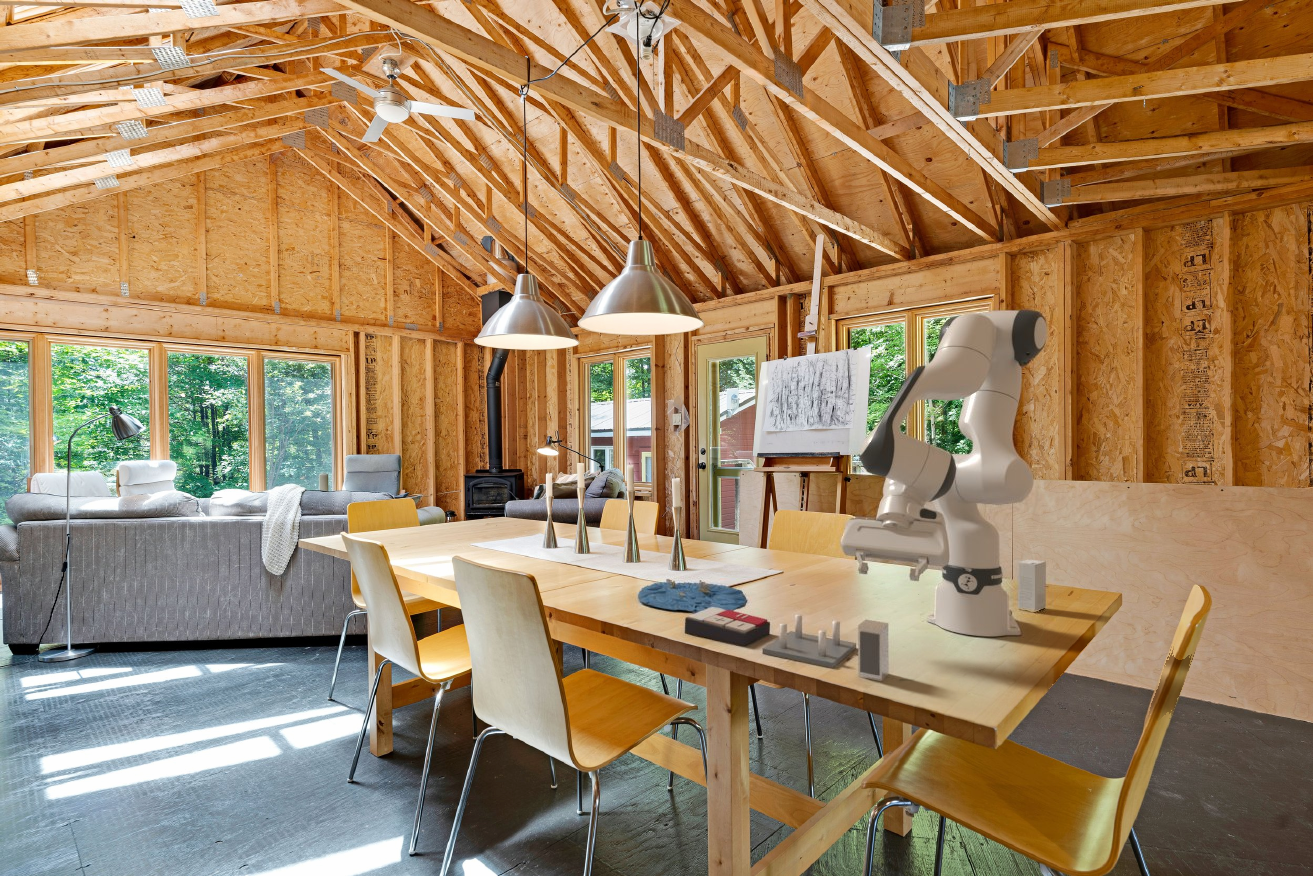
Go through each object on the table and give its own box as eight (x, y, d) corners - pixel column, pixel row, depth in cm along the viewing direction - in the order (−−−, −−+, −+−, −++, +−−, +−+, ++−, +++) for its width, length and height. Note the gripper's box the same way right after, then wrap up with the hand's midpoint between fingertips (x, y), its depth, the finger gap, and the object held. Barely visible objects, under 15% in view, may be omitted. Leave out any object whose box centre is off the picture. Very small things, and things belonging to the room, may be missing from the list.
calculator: (746, 630, 124) (684, 614, 133) (745, 652, 124) (683, 634, 133) (771, 618, 133) (711, 603, 142) (770, 638, 133) (711, 622, 142)
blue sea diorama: (771, 604, 165) (772, 584, 165) (700, 626, 143) (701, 603, 143) (688, 582, 185) (689, 565, 185) (615, 598, 163) (615, 579, 163)
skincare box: (1027, 606, 157) (1027, 558, 157) (1047, 609, 153) (1046, 561, 153) (1016, 609, 153) (1016, 561, 153) (1036, 613, 150) (1036, 564, 150)
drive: (865, 669, 112) (865, 619, 112) (888, 673, 110) (888, 623, 110) (857, 677, 108) (857, 625, 108) (881, 682, 106) (881, 629, 106)
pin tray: (790, 635, 132) (790, 610, 132) (856, 648, 124) (856, 620, 124) (762, 653, 120) (762, 625, 120) (832, 668, 112) (832, 638, 112)
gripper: (845, 506, 130) (830, 559, 121) (951, 514, 119) (943, 572, 111) (850, 525, 134) (836, 578, 125) (954, 535, 123) (946, 593, 114)
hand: (887, 575), depth 118 cm, fingers open, 8 cm apart
